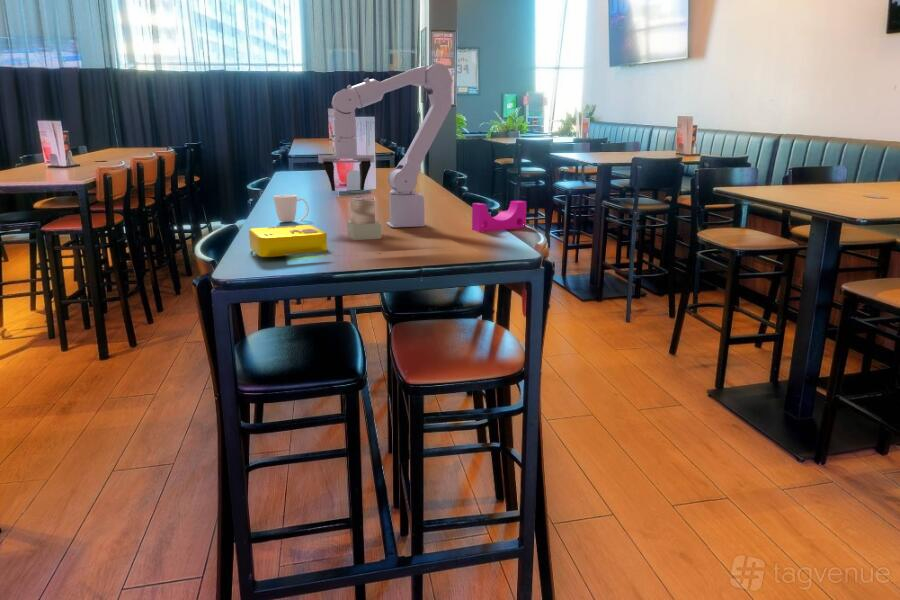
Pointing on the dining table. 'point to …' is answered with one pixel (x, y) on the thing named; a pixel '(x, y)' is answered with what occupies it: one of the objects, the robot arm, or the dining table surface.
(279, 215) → the cup
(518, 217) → the toy block
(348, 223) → the sage base block
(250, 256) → the dining table surface
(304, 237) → the element tile
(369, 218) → the ash block
